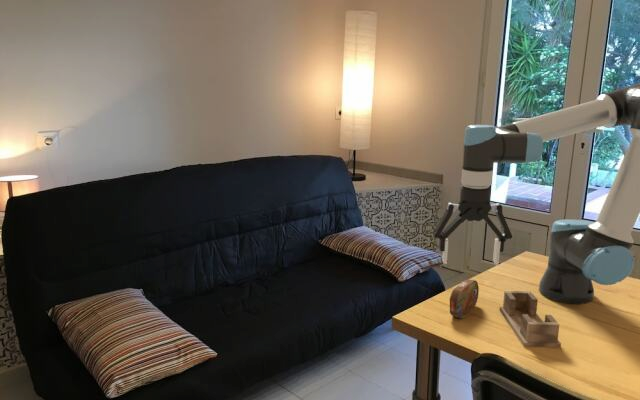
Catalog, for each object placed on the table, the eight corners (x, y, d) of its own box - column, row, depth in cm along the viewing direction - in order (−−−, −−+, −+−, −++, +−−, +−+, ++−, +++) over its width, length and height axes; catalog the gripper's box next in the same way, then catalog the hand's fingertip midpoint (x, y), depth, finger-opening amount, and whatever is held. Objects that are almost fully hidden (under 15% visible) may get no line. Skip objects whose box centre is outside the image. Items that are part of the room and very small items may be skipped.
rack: (531, 310, 147) (533, 291, 146) (560, 347, 128) (563, 325, 126) (499, 310, 148) (501, 290, 146) (523, 346, 128) (526, 324, 127)
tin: (457, 323, 140) (459, 294, 138) (446, 319, 142) (448, 291, 140) (478, 303, 152) (480, 277, 150) (468, 301, 154) (470, 274, 152)
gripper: (519, 182, 137) (512, 258, 142) (425, 181, 138) (421, 257, 143) (530, 189, 130) (521, 268, 135) (429, 188, 131) (425, 267, 136)
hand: (470, 262), depth 139 cm, fingers open, 13 cm apart
